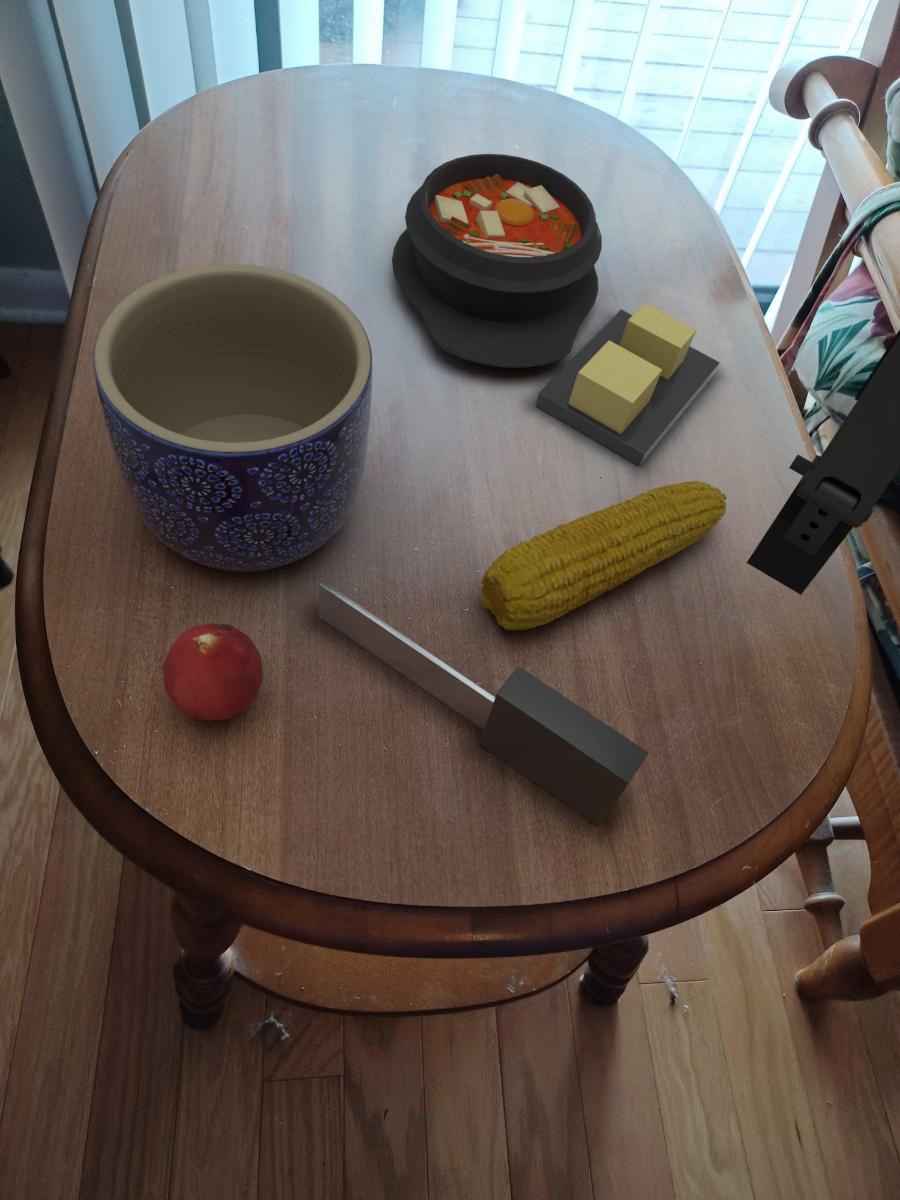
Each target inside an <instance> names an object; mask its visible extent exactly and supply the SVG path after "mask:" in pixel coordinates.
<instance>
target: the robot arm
mask: <svg viewBox="0 0 900 1200" xmlns="http://www.w3.org/2000/svg"><path fill="white" fill-rule="evenodd" d="M854 400H855V401H856V402H855V403H854V405H853V407H852V408H851V410H850V411H849V413H848V414H847V416H845V419H844V420H843V422H842V423H841V424H840V426H839V428H838V429H837V431H836V432H835V434H834V435H833V437H832V439H831V440H830V442H829V443H828V444H827V446H826V448H825V449H824V451H823V452H822V454H821V455H819V454H816V455H815V457H814V458H813V460H812V461H811V460H809V459H807V458H805V457H804V456H802V455H800V454H796V456H795V458H794V459H793V461H792V463H791V464H790V465H789V467H788V468H789V470H792V471H793V472H795V473H797V474H799V475H800V476H801V478H800V480H799V481H798V482H797V485H796V486H795V487H794V489H793V491H792V492H791V494H790V495H789V496H788V498H787V500H786V501H785V503H784V504H783V506H782V507H781V508H780V510H779V512H778V513H777V515H776V517H775V518H774V520H773V521H772V523H771V524H770V526H769V527H768V529H767V530H766V532H765V534H764V535H763V537H762V538H761V540H760V542H759V543H758V544H757V546H756V548H755V549H754V550H753V552H752V553H751V555H750V556H749V558H748V560H747V561H746V564H748V565H749V566H751V567H752V568H754V569H756V570H758V571H759V572H761V573H763V574H764V575H766V576H768V577H770V578H771V579H773V580H775V581H776V582H778V583H780V584H781V585H783V586H785V587H786V588H788V589H790V590H792V591H793V592H794V593H797V594H798V595H799V596H802V595H803V593H804V592H805V590H806V589H807V588H808V587H809V585H810V584H811V583H812V582H813V580H814V579H815V577H816V576H817V575H818V574H819V573H820V571H821V570H822V569H823V567H824V566H825V565H826V563H827V562H828V561H829V559H831V557H832V555H833V554H834V553H835V552H836V550H837V549H838V548H839V546H840V545H841V544H842V542H843V541H844V540H845V539H846V537H847V536H848V535H849V534H850V532H851V531H852V530H853V528H854V529H858V528H861V527H862V526H863V524H864V523H867V522H868V521H869V519H870V518H871V516H872V515H873V513H874V511H875V510H874V506H875V504H876V503H877V502H878V500H879V499H880V498H881V496H882V495H883V493H884V492H885V490H886V489H887V488H888V486H889V485H890V484H891V482H892V481H893V479H894V478H895V476H896V475H897V474H898V472H899V471H900V329H899V330H898V331H897V332H896V334H895V335H894V337H893V339H892V340H891V342H890V344H889V345H888V346H887V348H886V349H885V351H884V353H883V354H882V355H881V357H880V359H879V360H878V362H877V363H876V365H875V367H874V368H873V369H872V371H871V372H870V374H869V376H868V377H867V379H866V380H865V382H864V383H863V385H862V386H861V388H860V389H859V391H858V392H857V394H856V395H855V397H854Z"/></svg>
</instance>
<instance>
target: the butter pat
mask: <svg viewBox="0 0 900 1200" xmlns="http://www.w3.org/2000/svg"><path fill="white" fill-rule="evenodd" d="M632 315H633V316H632V317H631V318H630V319H629V320H628V322H627V325H626V328H625V331H624V334H623V336H622V339H621V342H620V345H619V346H620V347H622V348H624V349H626V350H628V351H629V352H631V353H633V354H635V355H637V356H639V357H640V358H642V359H644V360H646V361H648V362H649V363H651V364H653V365H655V366H657V367H659V368H660V369H662V372H661V374H660V376H662V377H664V378H665V379H667V380H668V379H669V378H670V377H671V375H672V374H673V373H674V372H675V371H676V369H677V368H678V367H679V366H680V365H681V363H682V362H683V361H684V358H685V356H686V354H687V351H688V349H689V347H691V345H692V342H693V340H694V337H695V335H696V333H697V329H696V328H694V327H693V326H690V325H689V324H686V323H685V322H682V321H681V320H679V319H677V318H675V317H673V316H671V315H669V314H668V313H665V312H663V311H661V310H660V309H658V308H655V307H654V306H652V305H650V304H648V303H647V302H644V303H642V304H641V306H639V308H638V309H637V310H636V311H635V312H634V313H633V314H632Z"/></svg>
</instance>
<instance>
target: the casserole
mask: <svg viewBox="0 0 900 1200" xmlns="http://www.w3.org/2000/svg"><path fill="white" fill-rule="evenodd" d="M405 211H406V212H405V215H404V220H405V225H406V228H405V229H404V230H403V232H401V234H400V235H399V237H398V238H397V240H396V242H395V244H394V247H393V252H392V258H391V264H392V271H393V275H394V277H395V280H396V282H397V284H398V287H399V288H400V289H401V291H402V292H403V293H404V295H405V296H406V297H407V299H408V300H409V301H410V303H411V304H412V305H413V307H415V309H416V310H417V311H418V313H419V314H420V316H421V318H422V321H423V323H424V324H425V326H426V329H427V332H428V334H429V335H430V337H431V339H432V341H433V342H434V343H435V344H436V345H437V346H438V347H440V348H441V349H442V350H443V351H445V352H447V353H449V354H451V355H453V356H455V357H458V358H460V359H462V360H466V361H469V362H473V363H477V364H479V365H485V366H491V367H498V368H519V369H520V368H524V369H525V368H533V367H540V366H546V365H549V364H552V363H555V362H559V361H561V360H562V359H563V358H565V357H566V356H567V355H569V354H570V352H571V350H572V348H573V345H574V342H575V339H576V336H577V333H578V330H579V327H580V325H581V324H582V323H583V321H584V320H585V319H586V318H587V316H588V314H589V313H590V311H591V310H592V309H593V307H594V306H595V304H596V301H597V297H598V293H599V277H598V274H597V271H596V267H595V265H596V263H598V260H599V258H600V255H601V252H602V249H603V244H602V243H603V241H602V240H603V239H602V237H603V236H602V233H601V230H600V227H599V224H598V222H597V217H596V215H597V214H596V211H595V208H594V206H593V203H592V201H591V200H590V198H589V196H588V195H587V193H586V192H585V191H584V190H583V189H582V188H581V187H580V186H579V185H578V184H577V183H576V182H574V181H573V180H572V179H571V178H569V177H568V176H567V175H565V174H564V173H562V172H560V171H558V170H556V169H554V168H553V167H550V166H548V165H546V164H544V163H541V162H538V161H535V160H533V159H528V158H524V157H521V156H515V155H509V154H504V153H503V154H502V153H480V154H479V153H478V154H469V155H465V156H460V157H457V158H453V159H451V160H448V161H446V162H444V163H441V165H439V166H437V167H436V168H434V169H433V170H432V171H431V172H430V173H429V174H428V175H427V176H426V177H425V179H424V181H423V183H422V185H420V187H419V188H417V190H416V191H415V192H414V193H413V194H412V195H411V197H410V199H409V201H408V202H407V205H406V209H405Z"/></svg>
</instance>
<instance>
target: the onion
mask: <svg viewBox="0 0 900 1200" xmlns="http://www.w3.org/2000/svg"><path fill="white" fill-rule="evenodd" d="M263 668H264V667H263V658H262V656H261V653H260V651H259V650H258V647H256V644H254V641H253V640H252V639H251V637H250V636H249V635H247V634H246V633H245V632H243V631H241V630H240V629H238V628H237V627H235V626H233V625H232V624H229V623H208V624H200V625H195V626H193V627H191V628H189V629H187V630H185V631H184V632H182V633H180V635H179V636H178V637H177V639H175V641H174V642H173V643H172V644H171V645H170V647H169V649H168V652H167V655H166V657H165V659H164V662H163V664H162V676H163V687H164V690H165V691H166V693H167V695H168V697H169V698H170V699H171V701H172V702H173V704H174V705H175V707H176V708H177V709H179V710H180V711H182V712H183V713H185V714H186V715H188V716H189V717H191V718H196V719H199V720H204V721H208V722H211V721H222V720H229V719H230V718H233V717H235V716H237V715H238V714H240V713H243V712H244V711H246V709H247V708H248V707H249V706H250V705H251V704H252V703H253V701H254V700H255V699H257V696H258V693H259V691H260V688H261V685H262V682H263V678H264V671H263Z"/></svg>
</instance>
